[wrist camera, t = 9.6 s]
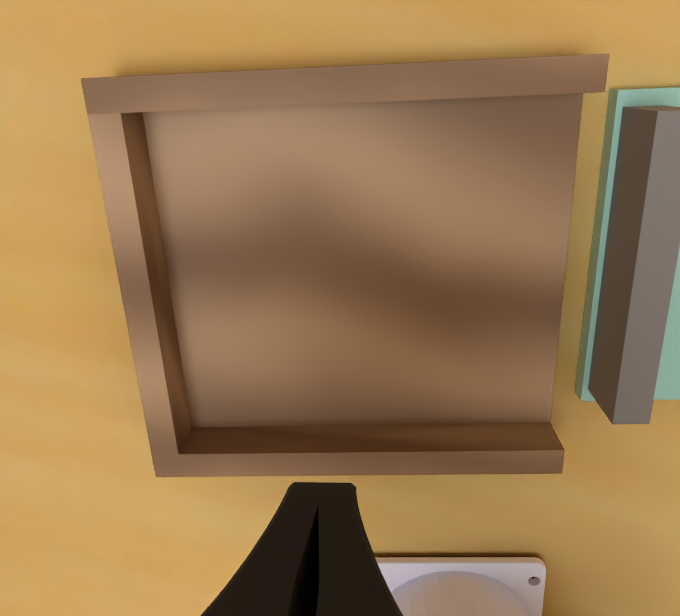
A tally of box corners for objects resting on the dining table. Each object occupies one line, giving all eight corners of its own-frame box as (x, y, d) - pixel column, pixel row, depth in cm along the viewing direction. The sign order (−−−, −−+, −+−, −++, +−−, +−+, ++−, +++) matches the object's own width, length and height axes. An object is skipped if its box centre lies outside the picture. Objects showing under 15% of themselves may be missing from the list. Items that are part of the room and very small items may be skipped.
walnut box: (543, 435, 24) (561, 473, 21) (175, 440, 24) (155, 476, 22) (580, 56, 19) (609, 53, 16) (113, 78, 19) (80, 78, 17)
